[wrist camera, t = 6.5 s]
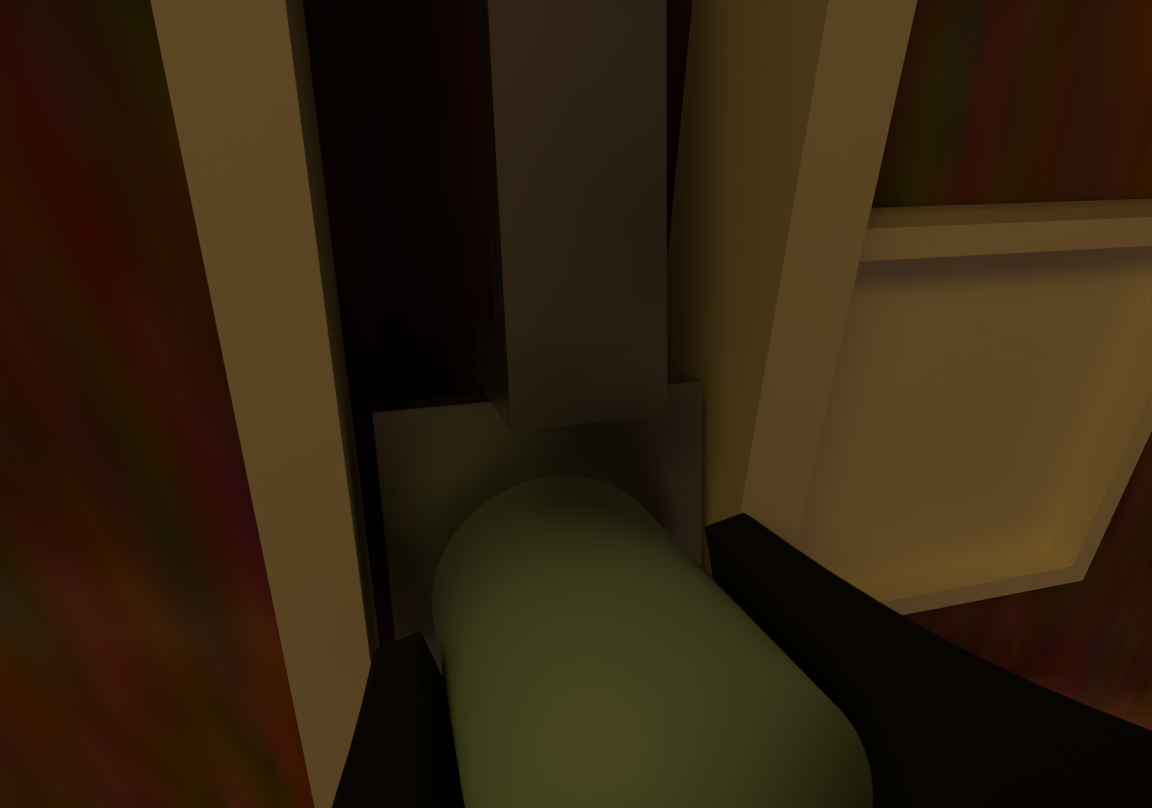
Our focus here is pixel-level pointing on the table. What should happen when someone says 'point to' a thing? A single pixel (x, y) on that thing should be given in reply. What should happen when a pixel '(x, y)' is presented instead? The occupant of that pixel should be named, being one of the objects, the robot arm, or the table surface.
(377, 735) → the robot arm
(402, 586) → the lever
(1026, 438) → the tray
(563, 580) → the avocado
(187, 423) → the table surface
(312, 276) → the beige h-shaped piece
